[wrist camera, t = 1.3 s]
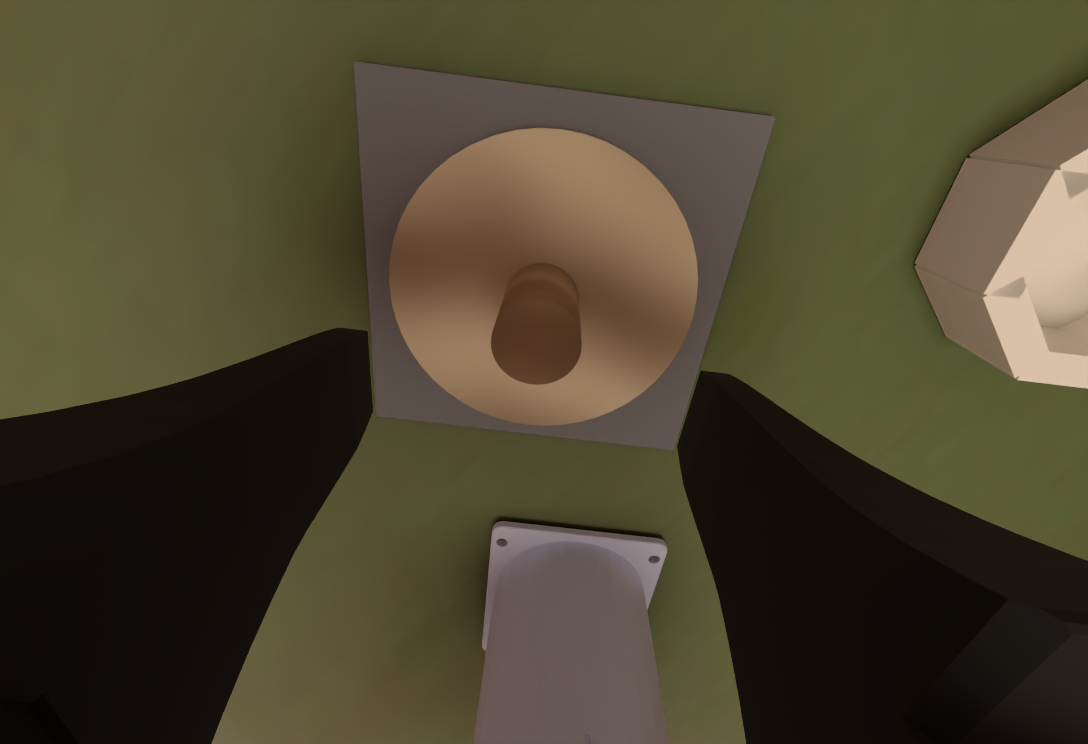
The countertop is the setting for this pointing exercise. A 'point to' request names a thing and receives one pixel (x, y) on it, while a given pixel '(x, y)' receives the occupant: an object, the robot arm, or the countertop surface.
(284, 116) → the countertop surface
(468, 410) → the mat
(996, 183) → the bowl
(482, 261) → the lid
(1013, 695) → the robot arm
